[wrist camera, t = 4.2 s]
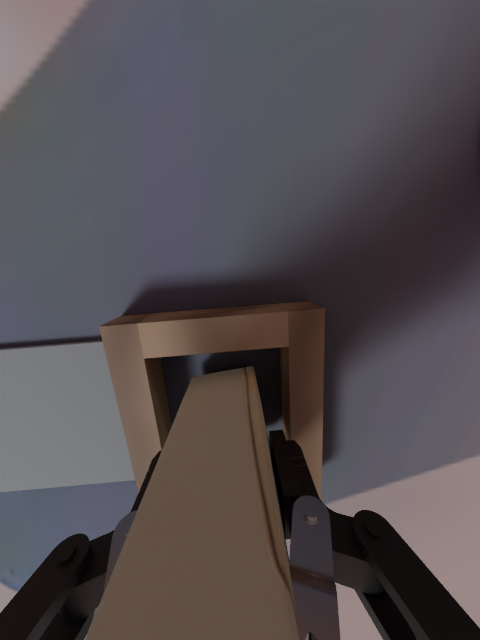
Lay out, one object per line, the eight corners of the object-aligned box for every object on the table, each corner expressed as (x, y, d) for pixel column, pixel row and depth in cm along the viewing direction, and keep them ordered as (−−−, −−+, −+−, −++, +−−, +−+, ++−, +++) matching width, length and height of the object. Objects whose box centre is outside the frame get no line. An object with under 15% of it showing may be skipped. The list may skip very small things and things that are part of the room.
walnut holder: (309, 300, 15) (325, 308, 12) (309, 475, 18) (321, 508, 16) (121, 315, 14) (98, 326, 12) (157, 488, 18) (145, 524, 15)
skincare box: (268, 440, 16) (361, 908, 5) (207, 452, 16) (143, 940, 5) (253, 361, 15) (333, 765, 3) (185, 374, 15) (0, 817, 3)
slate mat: (110, 339, 15) (107, 341, 14) (141, 474, 18) (139, 479, 17) (-63, 353, 15) (-71, 355, 14) (-5, 488, 17) (-10, 493, 17)
